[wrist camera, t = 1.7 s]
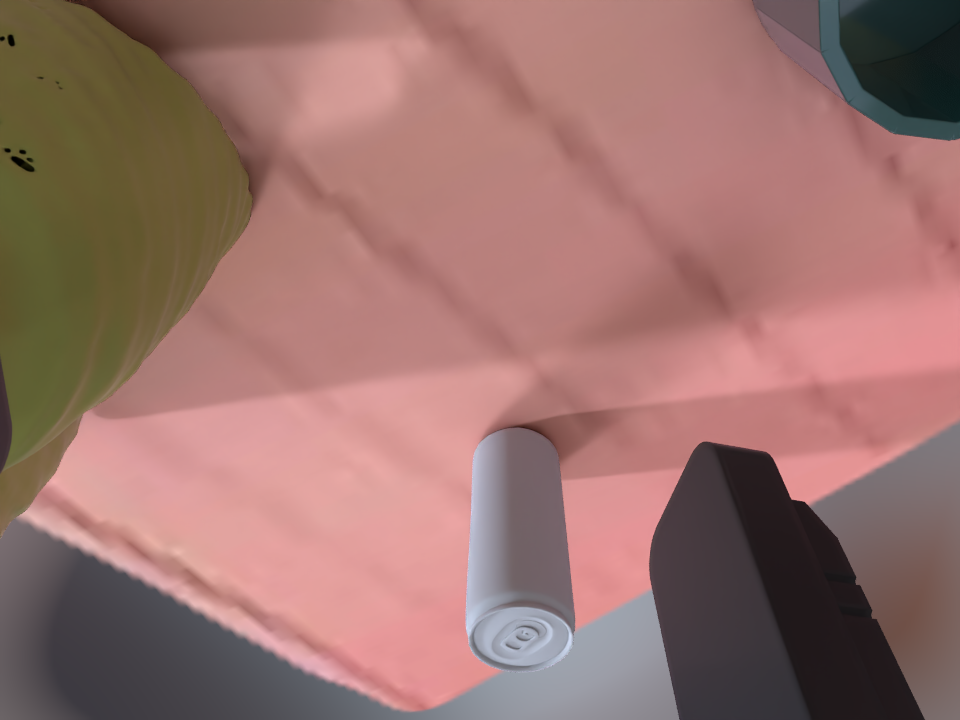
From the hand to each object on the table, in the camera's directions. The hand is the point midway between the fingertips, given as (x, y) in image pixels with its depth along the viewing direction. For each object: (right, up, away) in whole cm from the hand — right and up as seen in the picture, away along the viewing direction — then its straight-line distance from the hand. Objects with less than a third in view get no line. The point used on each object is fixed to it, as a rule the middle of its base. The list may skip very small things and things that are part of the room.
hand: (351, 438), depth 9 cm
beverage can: (+3, -4, +35) cm, 35 cm away
